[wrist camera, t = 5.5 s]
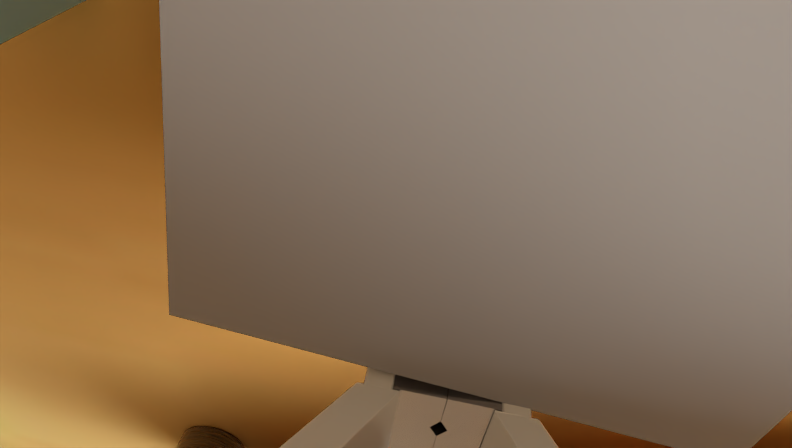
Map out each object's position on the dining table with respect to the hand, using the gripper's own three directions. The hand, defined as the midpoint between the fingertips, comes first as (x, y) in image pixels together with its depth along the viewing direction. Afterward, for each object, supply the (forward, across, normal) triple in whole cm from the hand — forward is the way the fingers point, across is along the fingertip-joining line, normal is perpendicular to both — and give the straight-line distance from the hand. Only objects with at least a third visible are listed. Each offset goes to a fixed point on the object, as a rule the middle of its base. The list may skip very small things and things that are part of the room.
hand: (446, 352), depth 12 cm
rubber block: (+3, 0, -5) cm, 6 cm away
